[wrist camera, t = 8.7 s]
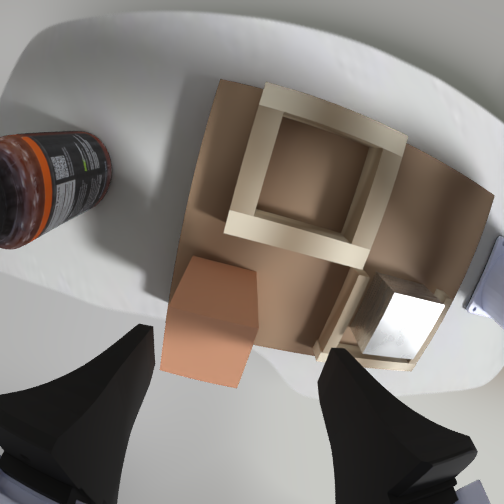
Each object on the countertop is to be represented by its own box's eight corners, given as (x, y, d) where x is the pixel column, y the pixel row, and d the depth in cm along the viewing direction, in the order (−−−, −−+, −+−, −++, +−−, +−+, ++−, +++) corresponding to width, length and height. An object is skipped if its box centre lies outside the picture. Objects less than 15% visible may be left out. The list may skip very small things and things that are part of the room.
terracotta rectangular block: (256, 271, 18) (258, 328, 12) (240, 323, 19) (236, 388, 14) (192, 255, 18) (168, 306, 12) (182, 309, 19) (159, 369, 13)
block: (424, 285, 19) (444, 305, 16) (397, 335, 20) (413, 359, 17) (376, 271, 18) (394, 292, 15) (349, 327, 20) (362, 353, 17)
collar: (392, 136, 15) (408, 136, 13) (351, 257, 18) (362, 269, 16) (264, 89, 14) (265, 81, 12) (226, 223, 17) (223, 232, 15)
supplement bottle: (41, 176, 18) (-69, 213, 7) (80, 115, 17) (-41, 112, 6) (86, 226, 20) (-17, 296, 9) (130, 166, 18) (16, 199, 8)
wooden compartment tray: (475, 189, 18) (507, 199, 15) (403, 350, 24) (420, 378, 20) (224, 87, 16) (217, 72, 13) (173, 305, 22) (160, 335, 18)
